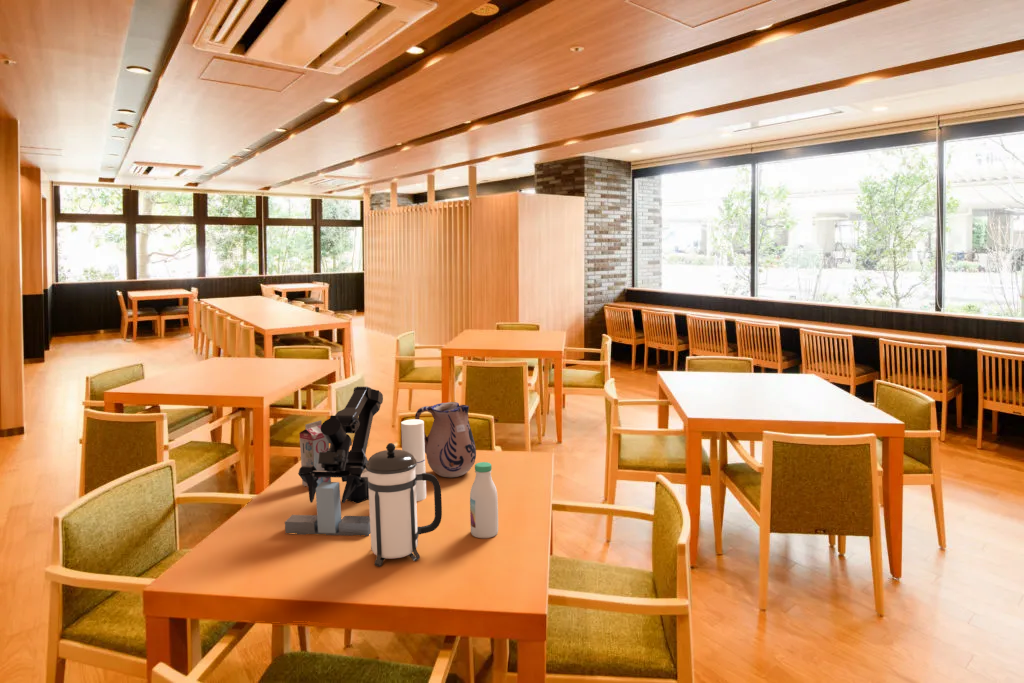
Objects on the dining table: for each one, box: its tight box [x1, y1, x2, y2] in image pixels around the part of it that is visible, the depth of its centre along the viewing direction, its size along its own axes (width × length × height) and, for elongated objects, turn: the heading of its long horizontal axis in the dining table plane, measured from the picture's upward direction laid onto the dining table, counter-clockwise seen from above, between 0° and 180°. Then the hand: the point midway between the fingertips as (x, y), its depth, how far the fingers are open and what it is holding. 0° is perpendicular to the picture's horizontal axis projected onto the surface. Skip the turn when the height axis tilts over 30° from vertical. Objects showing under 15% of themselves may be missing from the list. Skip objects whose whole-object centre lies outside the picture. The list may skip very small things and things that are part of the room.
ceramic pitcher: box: [414, 401, 477, 479], centre depth 226 cm, size 18×21×25 cm
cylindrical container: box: [400, 418, 427, 502], centre depth 204 cm, size 7×7×25 cm
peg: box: [315, 481, 342, 533], centre depth 180 cm, size 5×5×13 cm
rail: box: [284, 514, 371, 537], centre depth 181 cm, size 5×24×4 cm, turn 85°
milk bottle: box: [469, 461, 499, 539], centre depth 177 cm, size 8×8×20 cm
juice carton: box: [299, 420, 332, 488], centre depth 218 cm, size 7×7×22 cm
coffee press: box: [361, 442, 443, 568], centre depth 165 cm, size 17×16×30 cm
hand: (326, 502), depth 178 cm, fingers open, 9 cm apart
